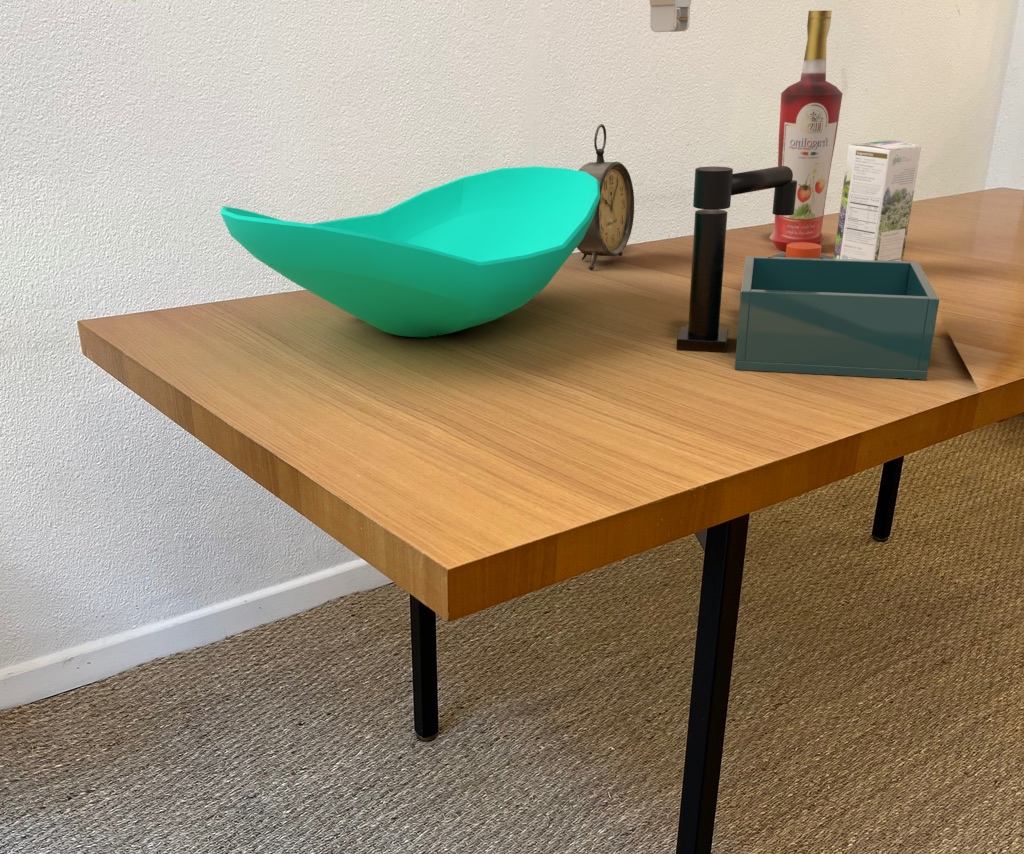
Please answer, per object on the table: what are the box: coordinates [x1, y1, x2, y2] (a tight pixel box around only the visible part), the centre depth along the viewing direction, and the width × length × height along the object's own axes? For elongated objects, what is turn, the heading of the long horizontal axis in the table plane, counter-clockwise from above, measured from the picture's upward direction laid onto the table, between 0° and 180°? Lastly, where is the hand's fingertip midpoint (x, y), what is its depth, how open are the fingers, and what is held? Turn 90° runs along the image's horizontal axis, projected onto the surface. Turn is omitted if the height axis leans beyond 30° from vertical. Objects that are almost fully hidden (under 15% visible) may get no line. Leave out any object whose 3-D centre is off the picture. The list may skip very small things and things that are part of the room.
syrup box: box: [833, 139, 922, 261], centre depth 120 cm, size 6×6×14 cm
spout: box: [692, 165, 797, 216], centre depth 95 cm, size 14×3×5 cm, turn 132°
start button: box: [785, 242, 822, 258], centre depth 112 cm, size 4×4×2 cm
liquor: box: [769, 10, 843, 252], centre depth 131 cm, size 7×7×28 cm
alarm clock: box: [576, 123, 635, 271], centre depth 127 cm, size 11×5×16 cm, turn 151°
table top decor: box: [220, 165, 600, 338], centre depth 101 cm, size 40×28×13 cm
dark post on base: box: [676, 209, 729, 353], centre depth 95 cm, size 4×4×12 cm
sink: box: [734, 255, 940, 380], centre depth 93 cm, size 16×15×7 cm
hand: (670, 31), depth 83 cm, fingers open, 8 cm apart
